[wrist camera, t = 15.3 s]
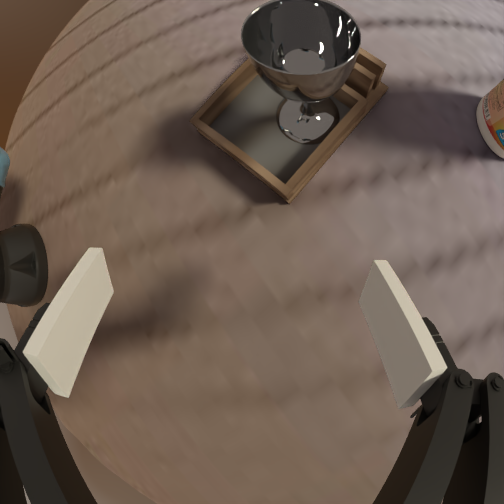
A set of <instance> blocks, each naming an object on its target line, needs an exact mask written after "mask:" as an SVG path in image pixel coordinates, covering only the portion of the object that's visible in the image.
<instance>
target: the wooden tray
mask: <svg viewBox="0 0 504 504" xmlns="http://www.w3.org/2000/svg"><path fill="white" fill-rule="evenodd" d="M385 67H386V64H385V63H383V62H382V61H381V60H379V59H378V58H376V57H374V56H373V55H371V54H370V53H368V52H367V51H365V50H363V49H362V48H360V50H359V54H358V58H357V61H356V64H355V68H354V70H353V72H352V74H351V75H350V77H349V79H348V81H347V82H346V83H345V85H344V86H343V87H342V88H341V89H340V90H339V91H338V92H337V93H336V94H334V95H333V96H331V97H330V99H332V100H333V102H334V103H335V104H336V106H337V108H338V111H339V114H340V122H339V123H338V124H337V126H336V127H335V128H334V129H333V130H332V131H331V132H330V134H329V135H328V136H327V137H326V138H325V139H324V140H323V141H322V143H319V144H314V145H305V144H300V143H297V142H294V141H292V140H290V139H289V138H287V137H286V136H285V135H284V134H283V133H282V132H281V130H280V129H279V127H278V124H277V120H276V112H277V108H278V106H279V104H280V102H281V101H282V100H283V99H284V98H283V97H281V96H280V95H278V94H276V93H275V92H273V91H272V90H271V89H270V88H269V87H268V86H267V85H266V84H265V83H264V82H263V81H262V79H261V78H260V77H259V75H258V74H257V73H256V71H255V70H254V68H253V66H252V64H251V62H250V60H249V58H248V59H247V60H246V61H245V62H244V63H243V64H242V65H241V66H240V67H239V68H238V69H237V70H236V71H235V72H234V73H233V74H232V75H231V76H230V77H229V78H228V79H227V80H226V81H225V82H224V83H223V84H222V85H221V86H220V87H219V88H218V89H217V91H216V92H215V93H214V94H213V95H212V96H211V97H210V98H209V99H208V100H207V101H206V102H205V104H204V105H203V106H202V107H201V108H200V109H199V110H198V111H197V113H196V114H195V115H194V116H193V117H192V118H191V120H190V122H191V123H192V124H193V125H194V126H195V127H196V128H197V129H198V130H197V131H198V132H199V133H200V134H202V135H203V136H204V137H206V138H207V139H208V140H210V141H211V142H212V143H214V144H215V145H216V146H218V147H219V148H220V149H222V150H223V151H224V152H225V153H227V154H228V155H229V156H231V157H232V158H233V159H234V160H236V161H237V162H238V163H240V164H241V165H242V166H243V167H245V168H246V169H247V170H248V171H250V172H251V173H252V174H254V175H255V176H256V177H257V178H258V179H260V180H261V181H262V182H263V183H265V184H266V185H267V186H268V187H270V188H271V189H272V190H273V191H274V192H276V193H277V194H278V195H279V196H280V197H282V198H283V199H284V200H285V201H286V202H288V203H289V204H290V203H291V202H292V201H293V200H294V199H295V197H296V196H297V195H298V194H299V193H300V192H301V190H302V189H303V188H304V187H305V186H306V185H307V183H308V182H309V181H310V180H311V179H312V178H313V176H314V175H315V174H316V173H317V172H318V171H319V169H320V168H321V167H322V166H323V165H324V164H325V162H326V161H327V160H328V159H329V158H330V157H331V155H332V154H333V153H334V152H335V151H336V150H337V148H338V147H339V146H340V145H341V144H342V143H343V141H344V140H345V139H346V138H347V137H348V136H349V134H350V133H351V132H352V131H353V130H354V129H355V127H356V126H357V125H358V124H359V123H360V122H361V120H362V119H363V118H364V117H365V116H366V115H367V113H368V112H369V111H370V110H371V109H372V108H373V106H374V105H375V104H376V103H377V102H378V101H379V99H380V98H381V97H382V96H383V95H384V94H385V93H386V91H387V89H388V87H387V86H386V85H385V84H383V83H382V82H381V81H380V80H381V77H382V75H383V72H384V69H385Z"/></svg>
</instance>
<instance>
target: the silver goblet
mask: <svg viewBox="0 0 504 504" xmlns="http://www.w3.org/2000/svg"><path fill="white" fill-rule="evenodd" d="M241 39H242V44H243V47H244V49H245V52H246V54H247V56H248V58H249V60H250V62H251V64H252V66H253V68H254V70H255V71H256V73H257V74H258V75H259V77H260V78H261V79H262V81H263V82H264V83H265V84H266V85H267V86H268V87H269V88H270V89H271V90H272V91H273V92H275V93H276V94H278V95H280V96H281V97H283V98H284V99H283V100H282V101H281V102H280V104H279V106H278V108H277V112H276V120H277V124H278V127H279V129H280V130H281V132H282V133H283V134H284V135H285V136H286V137H287V138H289V139H290V140H292V141H294V142H297V143H300V144H305V145H314V144H319V143H322V141H323V140H324V139H325V138H326V137H327V136H328V135H329V134H330V132H331V131H332V130H333V129H334V128H335V127H336V126H337V124H338V123H339V122H340V114H339V111H338V108H337V106H336V104H335V103H334V102H333V100H332V99H330V97H331V96H333V95H334V94H336V93H337V92H338V91H339V90H340V89H341V88H342V87H343V86H344V85H345V83H346V82H347V81H348V79H349V77H350V75H351V74H352V72H353V70H354V68H355V64H356V61H357V58H358V54H359V50H360V44H361V33H360V29H359V26H358V24H357V22H356V21H355V19H354V18H353V17H352V16H351V15H350V14H349V13H348V12H347V11H346V10H345V9H343V8H341V7H340V6H338V5H336V4H334V3H332V2H330V1H327V0H271V1H269V2H266V3H264V4H263V5H261V6H259V7H257V8H256V9H255V10H254V11H252V12H251V13H250V15H249V16H248V17H247V18H246V20H245V21H244V23H243V26H242V29H241Z"/></svg>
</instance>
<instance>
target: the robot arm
mask: <svg viewBox="0 0 504 504" xmlns="http://www.w3.org/2000/svg"><path fill="white" fill-rule="evenodd" d="M9 165H10V159H9V156H8V154H7V153H6V152H5V151H4V150H3V149H2V148H1V147H0V197H1V193H2V190H3V187H5V180H6V176H7V172H8V169H9ZM47 278H48V265H47V256H46V251H45V247H44V243H43V240H42V238H41V236H40V234H39V232H38V231H37V229H36V228H35V227H34V226H32V225H30V224H16V225H14V226H12V227H11V228H9V229H6V230H3V231H0V302H2V303H8V304H15V305H18V306H21V307H29V306H33V305H36V304H38V303H39V302H40V301H41V300H42V298H43V296H44V294H45V290H46V286H47ZM113 293H114V291H113V287H112V284H111V280H110V277H109V273H108V269H107V265H106V261H105V257H104V253H103V249H102V248H90V247H89V249H88V250H87V251H86V253H85V254H84V255H83V257H82V258H81V259H80V261H79V262H78V264H77V265H76V266H75V268H74V269H73V271H72V272H71V273H70V275H69V276H68V278H67V279H66V281H65V282H64V284H63V285H62V287H61V288H60V290H59V291H58V293H57V294H56V296H55V297H54V299H53V300H52V302H51V304H50V303H45V304H44V305H43V306H42V307H41V308H40V309H39V310H38V311H37V312H36V314H35V316H34V317H33V320H32V321H31V322H30V324H29V327H27V329H26V331H25V332H24V334H23V336H22V338H21V339H20V341H19V343H18V345H17V347H16V348H15V350H13V349H12V347H11V346H10V344H9V343H8V342H7V341H6V340H5V339H1V338H0V504H27V501H26V497H25V493H24V488H25V491H26V493H27V495H28V498H29V500H30V502H31V504H97V502H96V501H95V499H94V497H93V496H92V494H91V492H90V490H89V489H88V487H87V485H86V483H85V481H84V479H83V478H82V476H81V474H80V472H79V470H78V468H77V466H76V464H75V462H74V460H73V457H72V455H71V453H70V451H69V449H68V447H67V444H66V442H65V439H64V437H63V435H62V432H61V430H60V427H59V424H58V422H57V419H56V416H55V413H54V411H53V408H52V405H51V402H50V399H49V396H48V394H47V393H46V390H47V388H48V386H49V388H50V389H51V390H52V391H53V392H54V394H57V395H61V396H64V397H67V398H69V396H70V393H71V390H72V387H73V385H74V382H75V379H76V377H77V374H78V371H79V369H80V366H81V364H82V361H83V359H84V356H85V354H86V352H87V349H88V347H89V344H90V342H91V340H92V338H93V335H94V333H95V331H96V328H97V326H98V324H99V322H100V320H101V318H102V315H103V313H104V311H105V309H106V307H107V305H108V303H109V301H110V299H111V297H112V295H113ZM359 304H360V307H361V309H362V312H363V314H364V316H365V319H366V321H367V324H368V326H369V329H370V331H371V334H372V336H373V339H374V342H375V344H376V347H377V349H378V352H379V355H380V357H381V360H382V363H383V365H384V368H385V371H386V374H387V377H388V379H389V382H390V385H391V388H392V391H393V394H394V397H395V400H396V403H397V406H398V409H402V408H406V407H410V406H413V405H414V404H415V403H416V402H417V401H418V400H419V399H421V402H422V405H421V406H420V407H419V408H418V409H417V410H416V411H415V412H414V413H413V414H412V415H411V418H413V417H414V416H415V415H416V414H417V415H416V417H415V420H414V422H413V425H412V427H411V430H410V432H409V435H408V437H407V439H406V441H405V444H404V446H403V448H402V450H401V452H400V454H399V457H398V459H397V461H396V463H395V465H394V467H393V469H392V471H391V472H390V474H389V476H388V478H387V480H386V482H385V484H384V485H383V487H382V489H381V491H380V492H379V494H378V496H377V497H376V499H375V501H374V502H373V504H441V502H442V500H443V503H442V504H504V379H503V377H502V376H500V375H499V374H497V373H490V374H489V375H488V376H487V377H486V378H485V379H484V380H481V379H473V378H472V377H471V375H470V374H469V373H468V372H466V371H465V370H462V369H458V368H457V367H456V365H455V363H454V361H453V359H452V357H451V355H450V353H449V351H448V349H447V347H446V345H445V343H443V340H442V338H441V336H439V332H438V331H437V329H436V327H435V325H434V324H433V323H432V322H431V321H430V320H429V319H428V318H427V317H424V318H421V316H420V314H419V312H418V311H417V309H416V307H415V305H414V304H413V302H412V300H411V299H410V297H409V295H408V294H407V292H406V290H405V289H404V287H403V285H402V284H401V282H400V281H399V279H398V277H397V276H396V274H395V273H394V271H393V269H392V268H391V266H390V265H389V263H388V262H387V260H373V263H372V266H371V269H370V272H369V275H368V278H367V280H366V283H365V286H364V288H363V291H362V294H361V296H360V299H359ZM481 416H482V422H481V423H479V417H481ZM23 486H24V488H23ZM443 497H444V499H443Z"/></svg>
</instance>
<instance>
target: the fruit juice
mask: <svg viewBox="0 0 504 504" xmlns="http://www.w3.org/2000/svg"><path fill="white" fill-rule="evenodd" d="M476 118H477V123H478V127H479V130H480V132H481V135H482V137H483V138H484V140H485V142H486V143H487V145H488V146H489V147H490V149H491V150H492V151H493V152H494V153H495V154H497V155H498V156H499V157H501V158H503V159H504V79H503V80H502V81H501V82H500V83H499V84H498V85H497V86H496V87H494V88H493V89H492V90H491V91H490V92H489V93H488V94H487V95H486V96H484V97H483V98H482V99H481V101H480V102H479V104H478V107H477V111H476Z"/></svg>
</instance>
